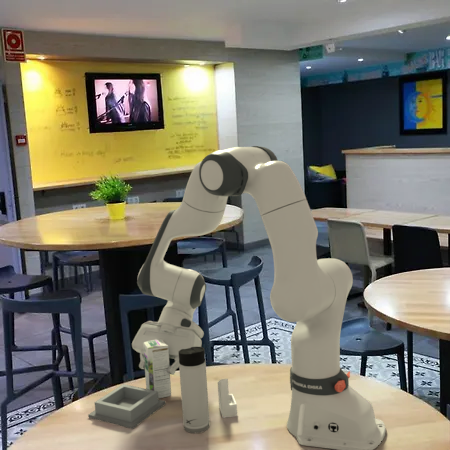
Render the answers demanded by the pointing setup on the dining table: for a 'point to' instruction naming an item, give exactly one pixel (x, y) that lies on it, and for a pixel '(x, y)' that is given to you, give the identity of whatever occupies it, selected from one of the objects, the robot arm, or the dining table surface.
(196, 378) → the travel mug
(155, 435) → the dining table surface
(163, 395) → the syrup box
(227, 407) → the white angled block
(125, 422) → the holder
